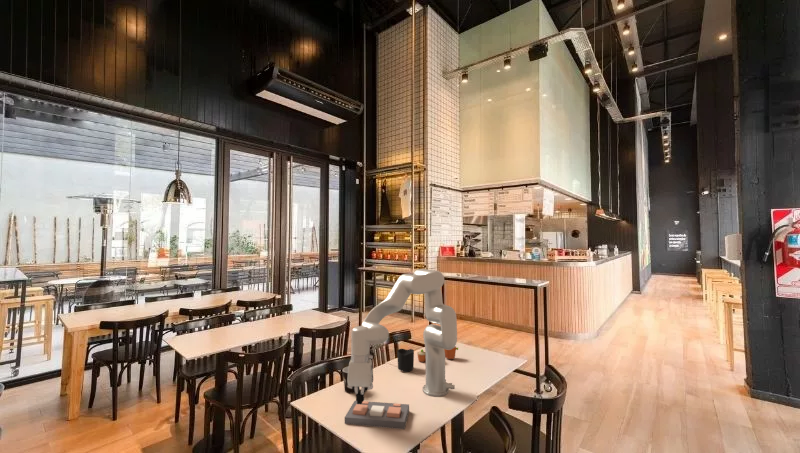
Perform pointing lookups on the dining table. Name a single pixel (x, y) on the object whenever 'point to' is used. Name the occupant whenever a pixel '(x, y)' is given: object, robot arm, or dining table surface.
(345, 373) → the coffee mug
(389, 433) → the dining table surface
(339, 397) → the dining table surface
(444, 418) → the dining table surface
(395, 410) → the key
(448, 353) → the potted plants
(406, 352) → the pen holder
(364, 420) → the keypad housing
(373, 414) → the key middle
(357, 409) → the key
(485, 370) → the dining table surface
